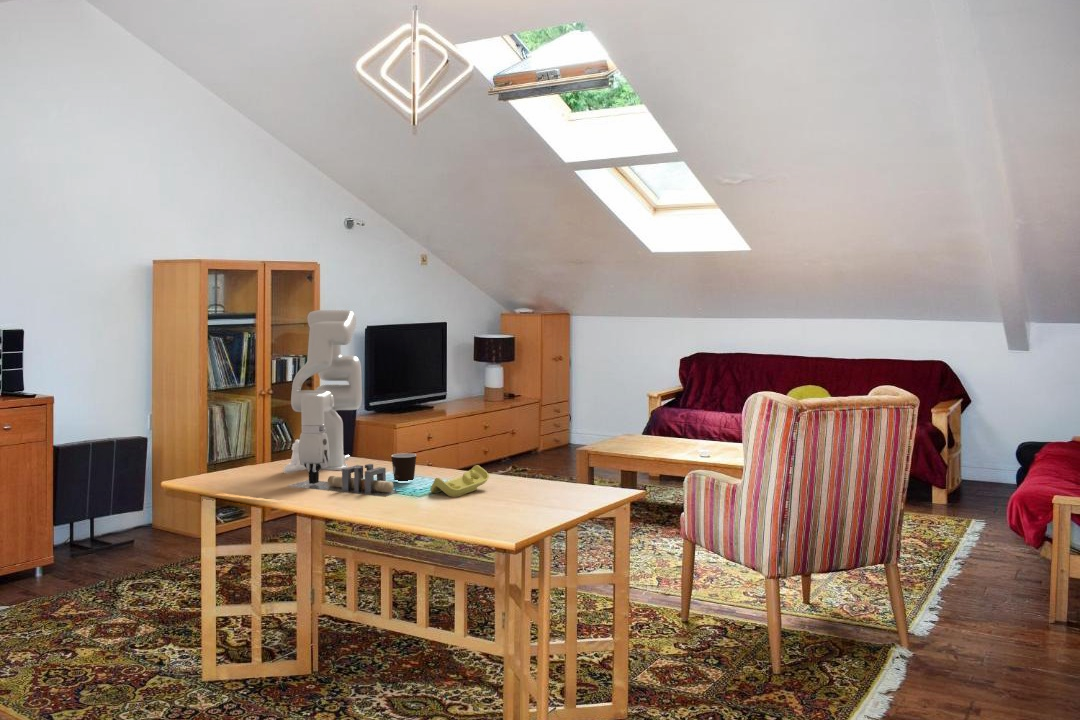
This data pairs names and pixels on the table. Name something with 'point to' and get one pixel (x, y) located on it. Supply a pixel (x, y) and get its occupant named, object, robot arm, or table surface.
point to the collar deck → (357, 481)
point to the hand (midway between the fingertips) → (313, 482)
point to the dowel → (362, 484)
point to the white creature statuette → (294, 460)
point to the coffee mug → (403, 466)
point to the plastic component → (461, 482)
